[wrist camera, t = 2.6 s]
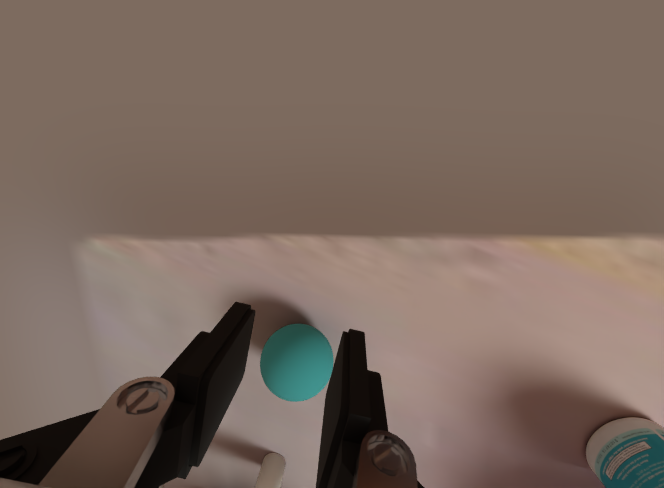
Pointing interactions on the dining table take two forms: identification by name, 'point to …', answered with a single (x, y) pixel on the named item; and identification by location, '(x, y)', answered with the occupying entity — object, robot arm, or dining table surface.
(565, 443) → the dining table surface
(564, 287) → the dining table surface
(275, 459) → the pin
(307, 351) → the ball
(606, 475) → the pill bottle
